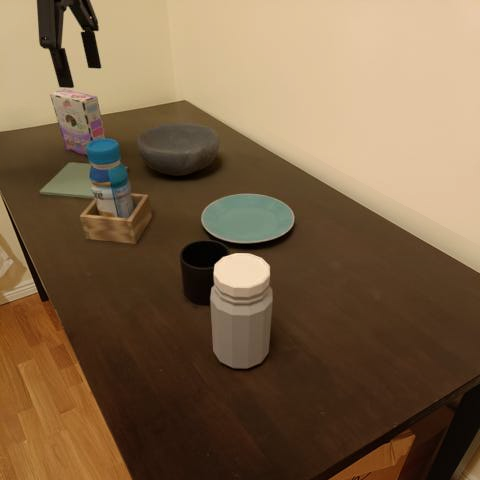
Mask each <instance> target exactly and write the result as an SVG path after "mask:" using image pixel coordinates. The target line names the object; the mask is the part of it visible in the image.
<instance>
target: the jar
mask: <svg viewBox="0 0 480 480" xmlns="http://www.w3.org/2000/svg"><path fill="white" fill-rule="evenodd" d="M270 280H271V265H270V264H269V263H267V261H265V259H264V258H263V257H260V256H257V255H255V254H252V253H247V252H246V253H243V252H242V253H238V252H236V253H232V254H230V255H228V256H225V257H223V258H221V259H220V260H219V261H218V262H217V263H216V264H215V266H214V283H215V285H214V286H213V287H212V289H211V297H210V302H211V305H210V318H211V320H210V321H211V334H212V336H211V337H212V351H213V353H214V355H215V357H216V358H217V359H218V361H219V362H220V363H222V364H224V365H225V366H228V367H230V368H232V369H244V370H245V369H249V368H252V367H254V366H257V365H259V364H262V362H263V361H264V360H265V359H266V357H267V355H268V354H269V352H270V340H271V327H272V314H273V301H274V299H273V295H274V294H273V288H272V287H271V286H270Z"/></svg>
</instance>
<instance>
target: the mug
mask: <svg viewBox="0 0 480 480" xmlns="http://www.w3.org/2000/svg"><path fill="white" fill-rule="evenodd" d="M228 255H231V251H230V249H229V247H228V246H227V245H226V244H225V243H222V242H220V241H217V240H214V239H197V240H194V241H191V242H189V243H188V244H187V243H186V245H184V246H183V248H182V249H181V250H180V252H179V262H180V270H181V279H182V289H183V294H184V296H185V297H186V298H187V299H188V301H190V302H191V303H194V304H196V305H200V306H211V302H210V297H211V289H212V287H213V286H214V285H215V283H214V266H215V264H216V263H217V262H218V261H219V260H220V259H221V258H223V257H225V256H228Z"/></svg>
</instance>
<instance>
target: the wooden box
mask: <svg viewBox="0 0 480 480" xmlns="http://www.w3.org/2000/svg"><path fill="white" fill-rule="evenodd" d="M131 195H132V201H133V207H134V211H133V213H132V214H131V216H130V217H129V219H127V218H117V217H106V216H100V215H99V212H98V208H97V204H96V200H95V199H92V201H91V202H90V203H89V204H88V206H87V207H86V208H85V209H84V211H82V213H81V214H80V216H79V218H80V222H81V225H82V228H83V229H82V230H83V232H84V235H85V239H86V240H94V241H101V242H102V241H103V242H110V243H111V242H113V243H120V244H121V243H122V244H123V243H124V244H132V245H136V244H137V243H138V241H139V240H140V238H141V236H142V234H143V233H144V232H145V229H146V228H147V227H148V225H149V224H150V221H151V219H152V218H153V214H152V209H151V208H152V207H151V202H150V196H149V194H143V193H133V192H131Z"/></svg>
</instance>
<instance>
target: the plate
mask: <svg viewBox="0 0 480 480" xmlns="http://www.w3.org/2000/svg"><path fill="white" fill-rule="evenodd" d="M200 219H201V220H200V221H201V224H202V227H203V228H204V229H205V231H207V232H208V233H209V235H212V236H213V237H214V238H216V239H219V240H221V241H225V242H227V243H233V244H243V245H244V244H245V245H247V244H248V245H249V244H259V243H264V242H269V241H272V240H276V239H278V238H281V237H282V236H284V235H286V234H287V233H288V232H289V231H290V230H291V229H292V227H293V226H294V223H295V214H294V211H293V209H292V208H291V207H290V206H289V205H287V204H286V203H285V202H283V201H282V200H279V199H277V198H275V197H272V196H269V195H264V194H260V193H259V194H258V193H236V194H231V195H227V196H223V197H220V198H219V199H216V200H214V201H213V202H211V203H209V204H208V205H207V206H206V207H205V208H204V210H203V211H202V213H201V216H200Z"/></svg>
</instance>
